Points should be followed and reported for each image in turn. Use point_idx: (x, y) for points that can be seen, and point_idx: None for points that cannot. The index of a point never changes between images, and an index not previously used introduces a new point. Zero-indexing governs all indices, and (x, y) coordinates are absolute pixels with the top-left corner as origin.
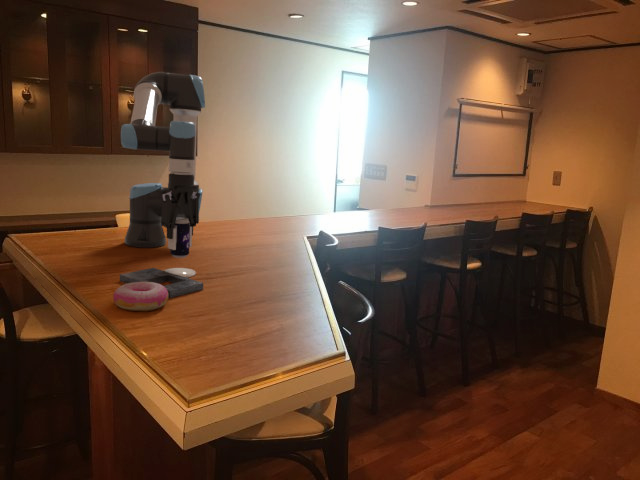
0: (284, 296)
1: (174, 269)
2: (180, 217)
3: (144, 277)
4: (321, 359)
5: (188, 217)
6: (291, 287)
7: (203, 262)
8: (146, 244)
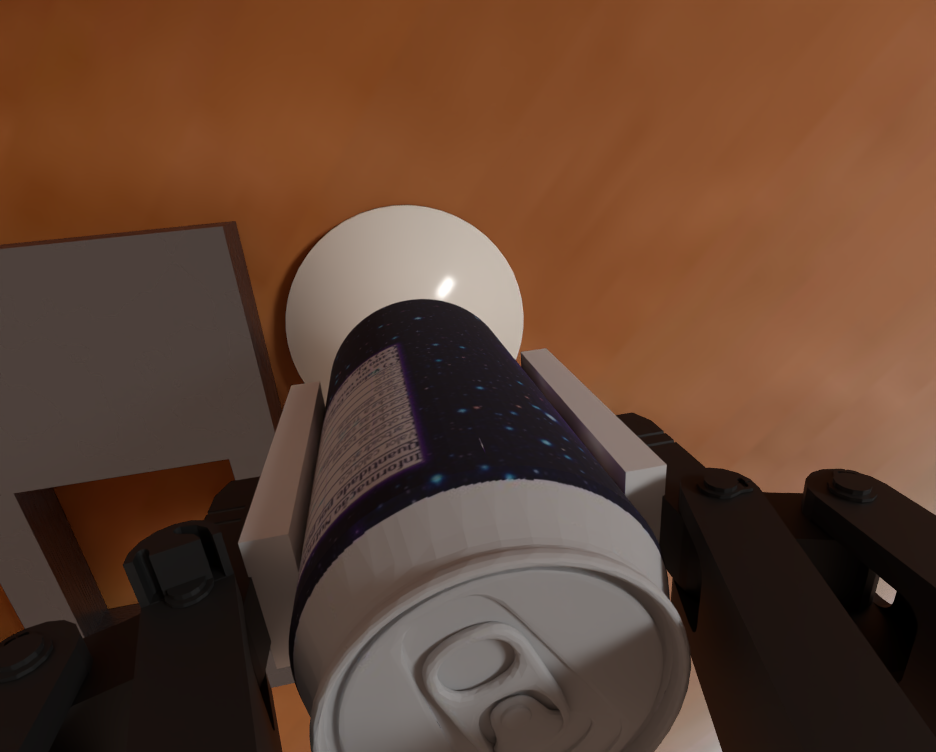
0: None
1: (420, 249)
2: (627, 583)
3: (28, 443)
4: None
5: (723, 699)
6: (679, 741)
7: (756, 146)
8: None
